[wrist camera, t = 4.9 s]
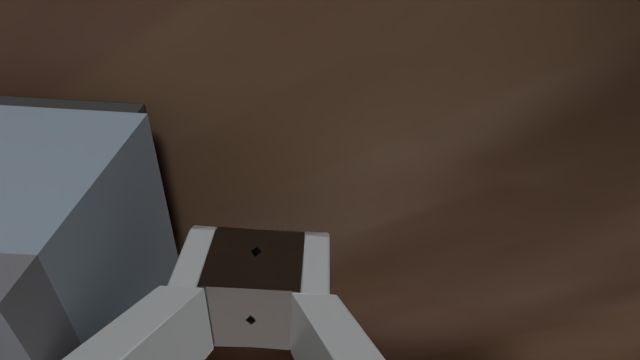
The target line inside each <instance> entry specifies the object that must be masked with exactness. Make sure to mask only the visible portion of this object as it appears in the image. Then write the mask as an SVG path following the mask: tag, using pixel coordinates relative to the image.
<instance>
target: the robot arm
mask: <svg viewBox="0 0 640 360" xmlns="http://www.w3.org/2000/svg"><path fill="white" fill-rule="evenodd" d="M304 238H305V241H304ZM214 346H224V347H257V348H270V349H282V350H291V354H292V356H293V358H294V360H385V358H384V357H383V356H382V354H381V353H380V352H379V350H378V349H377V348H376V346H375V345H374V344H373V342H372V341H371V340H370V338H369V337H368V336H367V334H366V333H365V332H364V330H363V329H362V328H361V326H360V325H359V324H358V322H357V321H356V320H355V318H354V317H353V316H352V314H351V313H350V312H349V310H348V309H347V308H346V306H345V305H344V304H343V302H342V301H341V300H340V298H339V297H338V296H337V295H331V294H330V236H329V234H328V233H325V232H297V231H275V230H255V229H242V228H230V227H210V226H198V225H194V226H193V227H192V228H191V229H190V230H189V233H188V235H187V238H186V240H185V243H184V245H183V247H182V250H181V252H180V255H179V257H178V260H177V262H176V265H175V267H174V270H173V272H172V275H171V277H170V279H169V282H168V284H167V286H160V285H159V286H158V287H157V288H155V289H154V290H153V291H151V292H150V293H149V294H148V295H146V296H145V297H144V298H142V299H141V300H140V301H138V302H137V303H136V304H134V305H133V306H132V307H130V308H129V309H128V310H126V311H125V312H124V313H122V314H121V315H120V316H118V317H117V318H116V319H115V320H113V321H112V322H111V323H109V324H108V325H107V326H105V327H104V328H103V329H101V330H100V331H99V332H97V333H96V334H95V335H93V336H92V337H91V338H89V339H88V340H87V341H86V342H84V343H83V344H82V345H80V346H79V347H78V348H76V349H75V350H74V351H72V352H71V353H70V354H68V355H67V356H66V357H64V358H63V359H62V360H205V359H206V358H207V357H208V355H209V354H210V353H211V352H212V351H213V349H214Z"/></svg>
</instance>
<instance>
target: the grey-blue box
mask: <svg viewBox="0 0 640 360" xmlns="http://www.w3.org/2000/svg"><path fill="white" fill-rule="evenodd" d="M177 260H178V254H177V250H176V245H175V240H174V236H173V231H172V226H171V222H170V217H169V212H168V208H167V203H166V198H165V194H164V189H163V184H162V179H161V175H160V170H159V165H158V161H157V156H156V151H155V147H154V142H153V137H152V133H151V128H150V123H149V119H148V114H146V111H145V106H144V104H130V103H113V102H96V101H78V100H61V99H44V98H27V97H9V96H0V360H62V359H63V358H64V357H66V356H67V355H68V354H70V353H71V352H72V351H74V350H75V349H76V348H78V347H79V346H80V345H82V344H83V343H84V342H86V341H87V340H88V339H89V338H91V337H92V336H93V335H95V334H96V333H97V332H99V331H100V330H101V329H103V328H104V327H105V326H107V325H108V324H109V323H111V322H112V321H113V320H115V319H116V318H117V317H118V316H120V315H121V314H122V313H124V312H125V311H126V310H128V309H129V308H130V307H132V306H133V305H134V304H136V303H137V302H138V301H140V300H141V299H142V298H144V297H145V296H146V295H148V294H149V293H150V292H151V291H153V290H154V289H155V288H157V287H158V286H159V285H160V286H167V284H168V282H169V279H170V277H171V275H172V272H173V270H174V267H175V265H176V262H177Z"/></svg>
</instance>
